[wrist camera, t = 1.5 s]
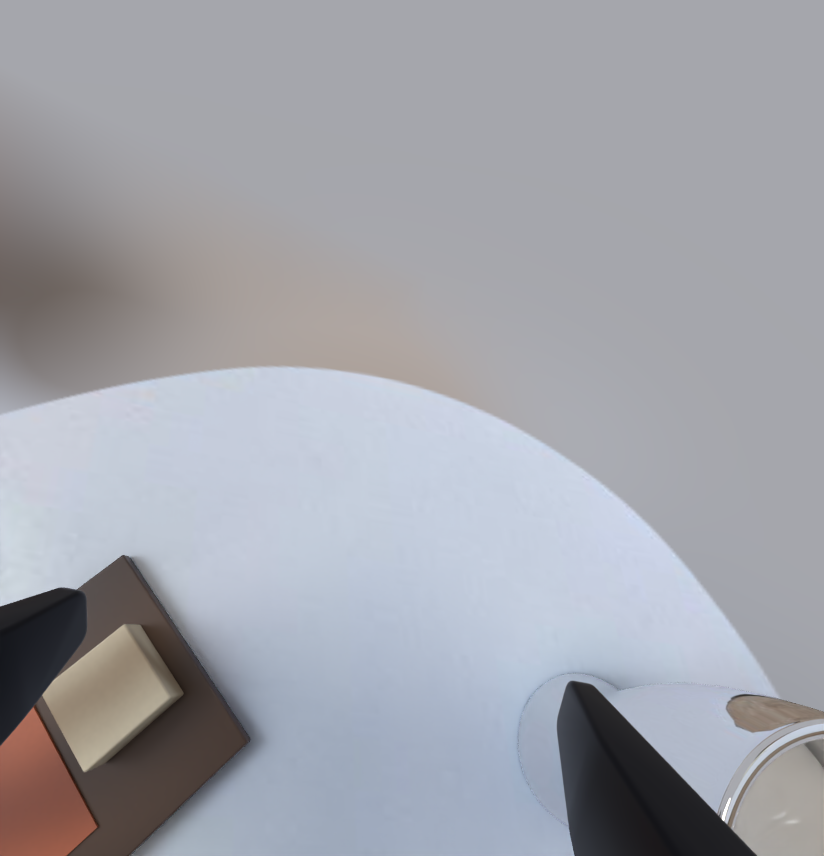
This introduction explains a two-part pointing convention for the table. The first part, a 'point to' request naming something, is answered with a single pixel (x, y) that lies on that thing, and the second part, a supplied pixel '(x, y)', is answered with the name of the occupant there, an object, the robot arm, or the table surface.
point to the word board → (166, 741)
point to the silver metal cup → (705, 755)
